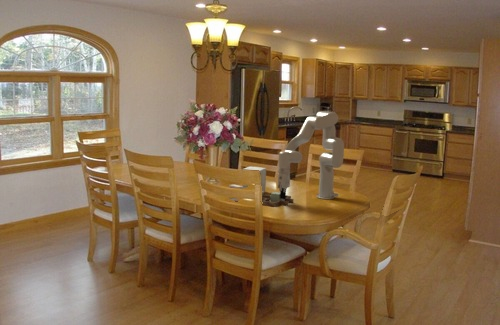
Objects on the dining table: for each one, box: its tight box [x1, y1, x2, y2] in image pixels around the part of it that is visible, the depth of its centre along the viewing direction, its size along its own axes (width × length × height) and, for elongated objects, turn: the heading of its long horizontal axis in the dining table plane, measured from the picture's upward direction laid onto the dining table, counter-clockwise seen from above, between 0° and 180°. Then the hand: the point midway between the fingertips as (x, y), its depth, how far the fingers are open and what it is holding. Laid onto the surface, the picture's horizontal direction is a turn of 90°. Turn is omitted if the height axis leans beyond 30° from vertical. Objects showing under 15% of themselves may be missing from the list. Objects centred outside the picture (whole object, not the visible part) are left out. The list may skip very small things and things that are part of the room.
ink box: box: [228, 184, 243, 202], centre depth 315 cm, size 8×5×12 cm, turn 47°
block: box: [270, 191, 283, 202], centre depth 323 cm, size 6×6×6 cm
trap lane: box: [261, 191, 294, 208], centre depth 324 cm, size 23×24×5 cm
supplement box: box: [241, 165, 267, 193], centre depth 349 cm, size 13×13×18 cm
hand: (282, 198), depth 321 cm, fingers closed
